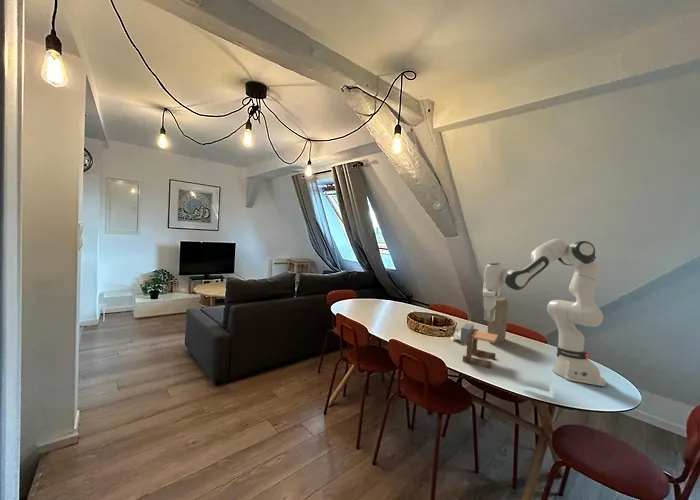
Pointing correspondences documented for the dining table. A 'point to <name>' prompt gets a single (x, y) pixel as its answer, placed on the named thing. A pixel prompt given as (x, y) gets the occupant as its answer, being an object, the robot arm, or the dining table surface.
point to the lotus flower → (457, 335)
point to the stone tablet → (499, 320)
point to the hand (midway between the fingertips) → (489, 315)
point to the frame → (477, 353)
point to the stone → (490, 316)
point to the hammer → (476, 334)
